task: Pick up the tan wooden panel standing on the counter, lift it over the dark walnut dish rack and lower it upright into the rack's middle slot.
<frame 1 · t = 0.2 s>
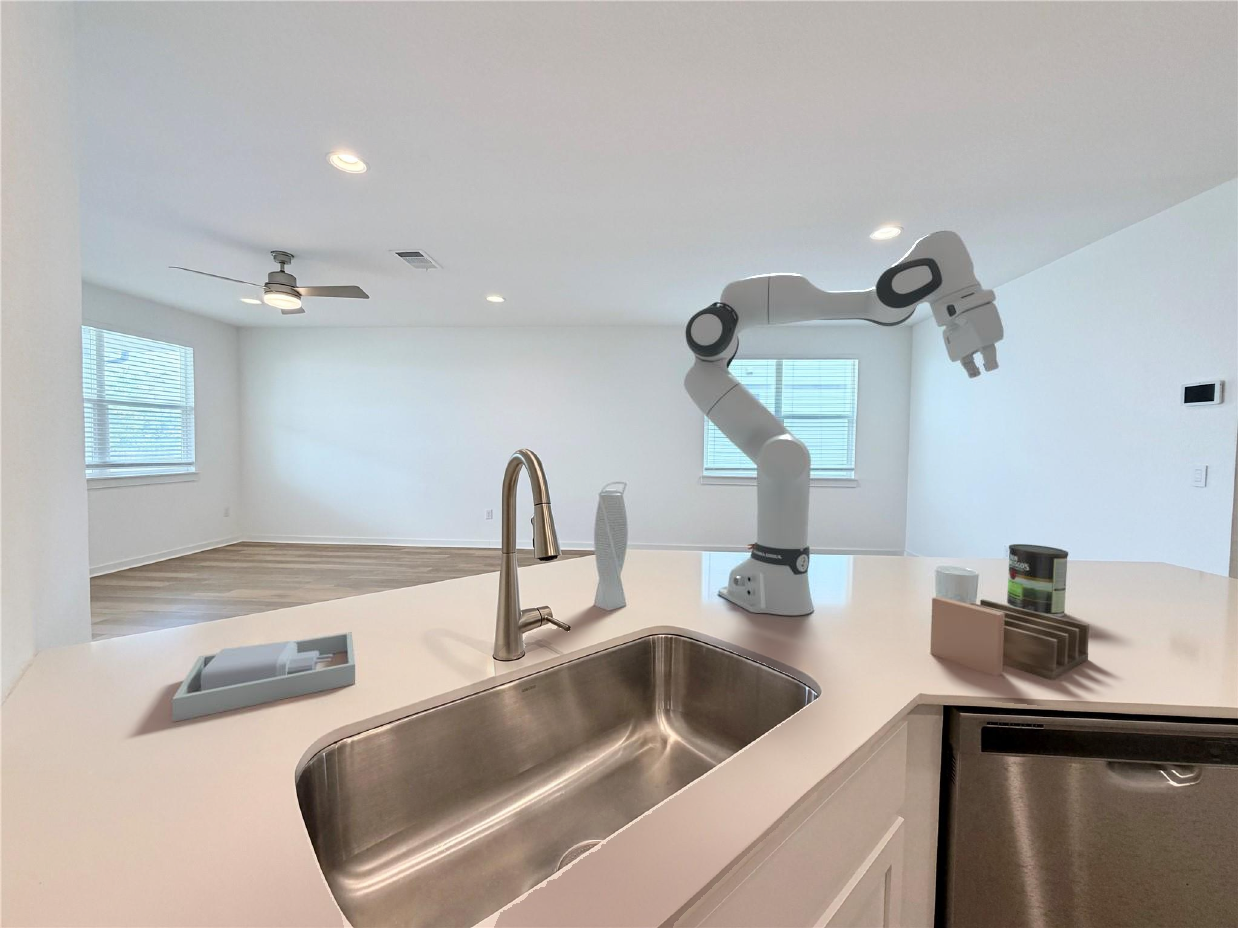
hand: (983, 373, 97), 52 cm above the worktop, tool tilted 20°, fingers open, 8 cm apart
dish rack: (1012, 651, 88), on the worktop
white cup: (954, 616, 107), on the worktop
skyscraper: (610, 606, 111), on the worktop
charger: (275, 682, 74), resting in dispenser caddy
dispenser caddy: (276, 679, 74), on the worktop
coffee can: (1035, 610, 111), on the worktop
tan wooden panel: (964, 663, 83), on the worktop
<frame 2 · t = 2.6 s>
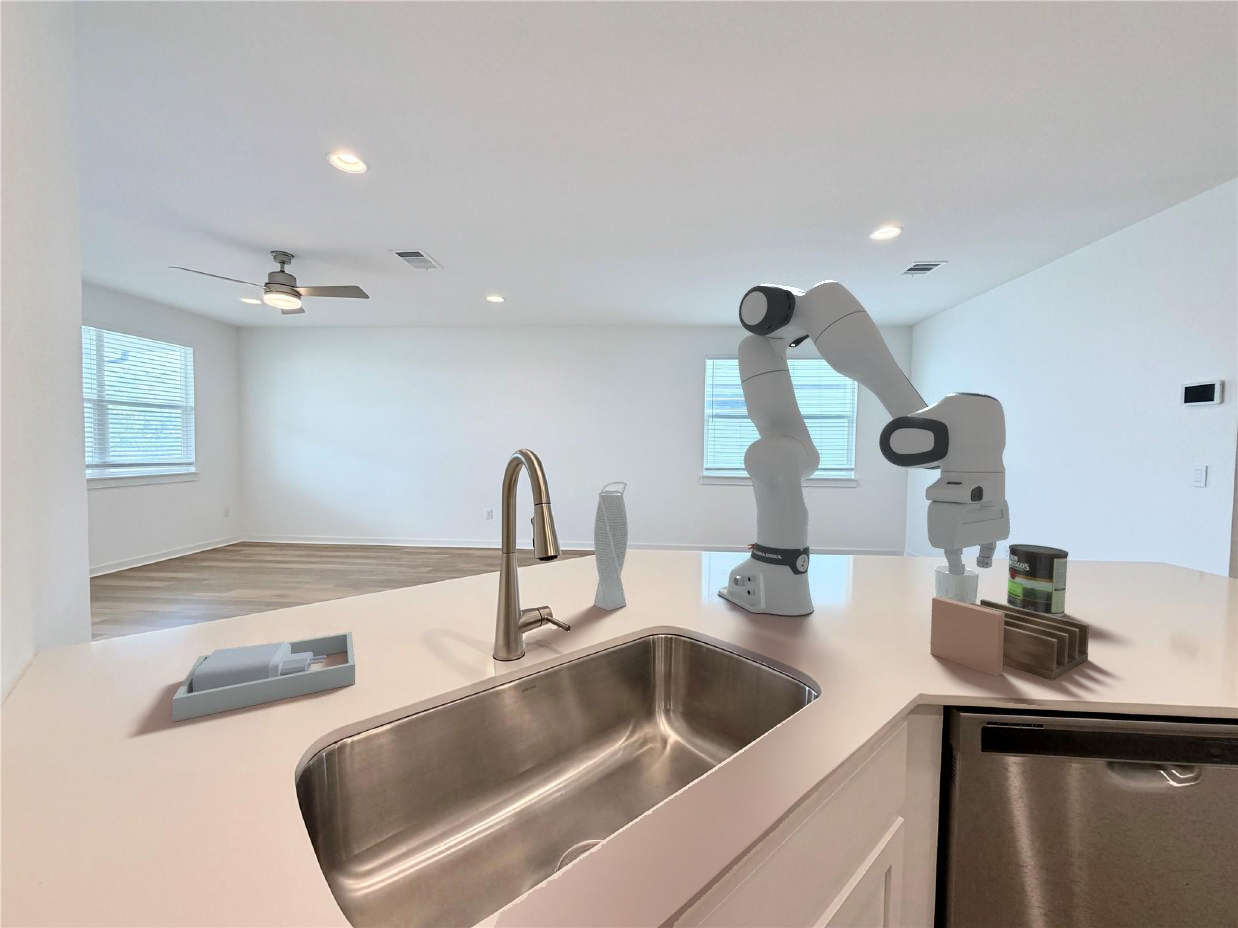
hand: (970, 570, 82), 16 cm above the worktop, tool pointing down, fingers open, 8 cm apart
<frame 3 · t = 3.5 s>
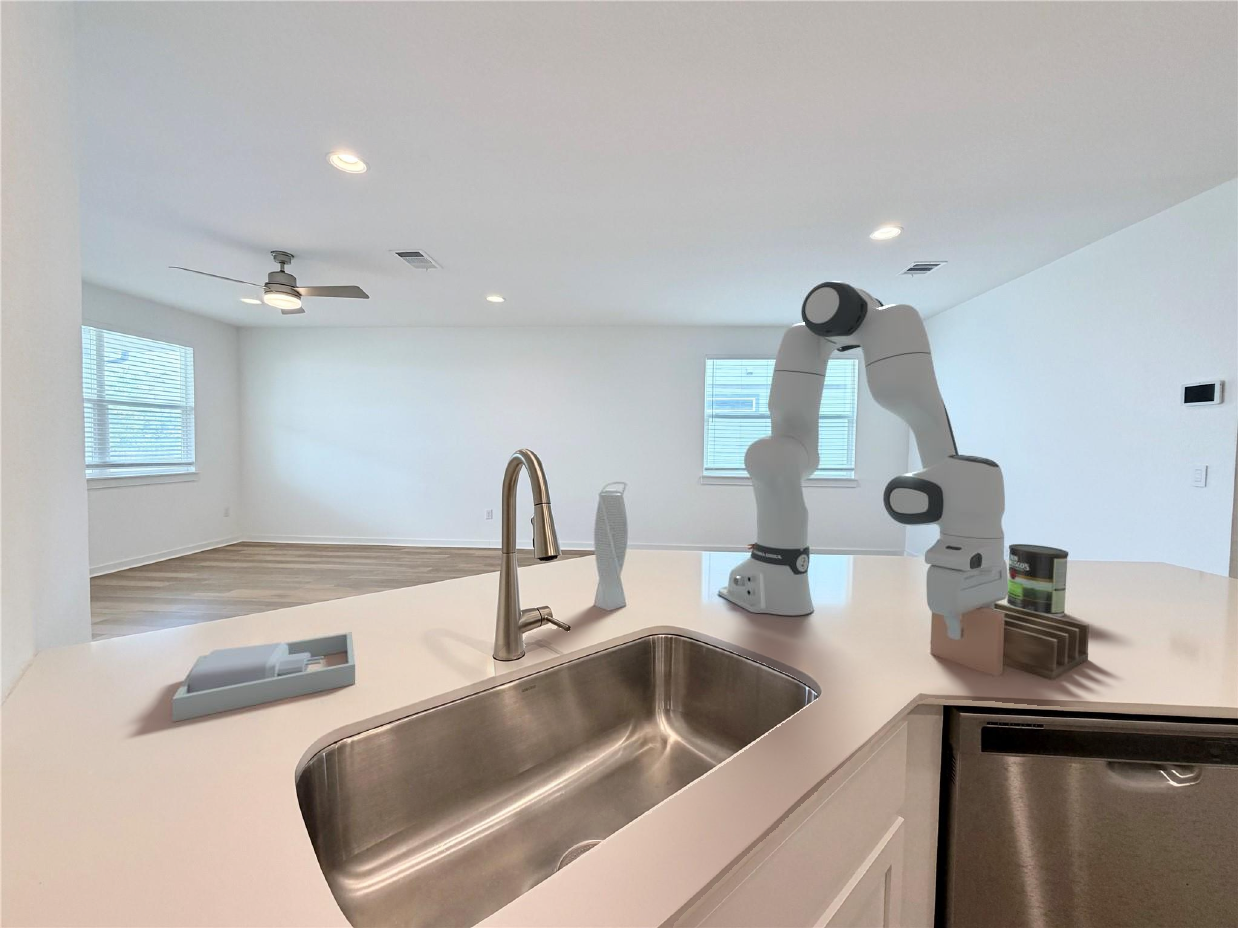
hand: (969, 632, 82), 5 cm above the worktop, tool pointing down, fingers open, 8 cm apart
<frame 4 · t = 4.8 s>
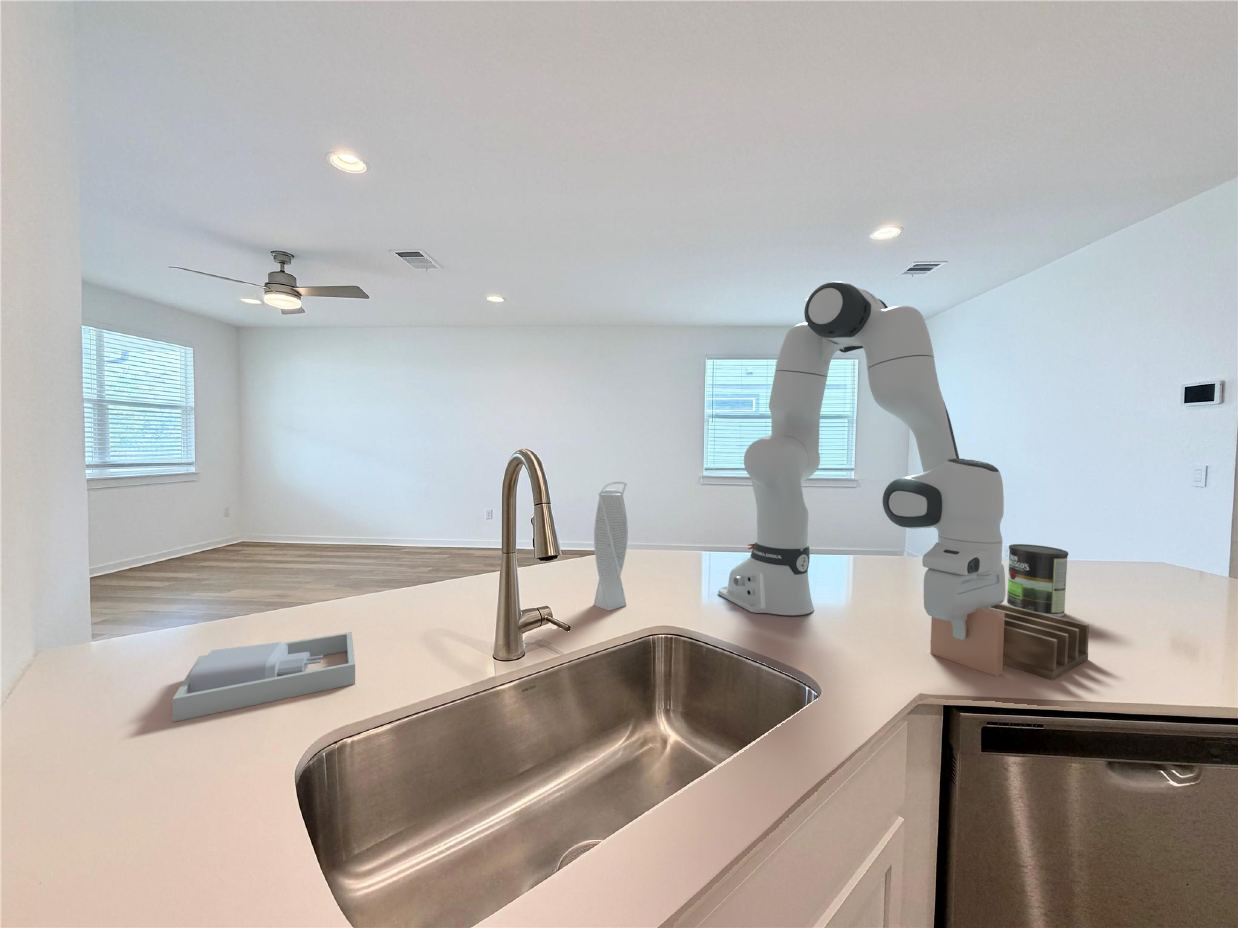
hand: (965, 636, 83), 5 cm above the worktop, tool pointing down, fingers closed on tan wooden panel, 2 cm apart
tan wooden panel: (964, 662, 83), on the worktop, touching gripper
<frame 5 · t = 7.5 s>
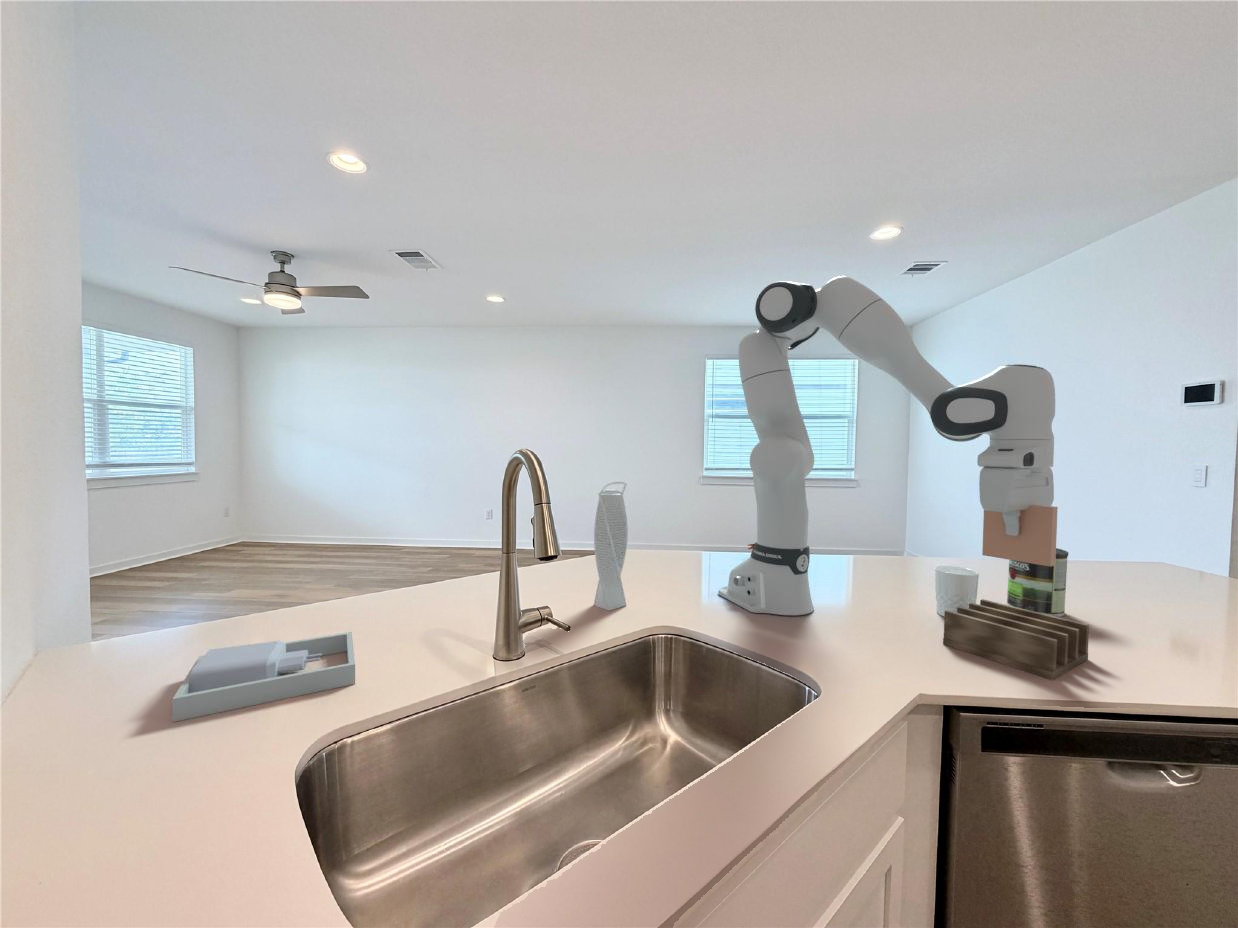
hand: (1017, 534, 87), 21 cm above the worktop, tool pointing down, fingers closed on tan wooden panel
tan wooden panel: (1017, 559, 87), point 17 cm above the worktop, touching gripper
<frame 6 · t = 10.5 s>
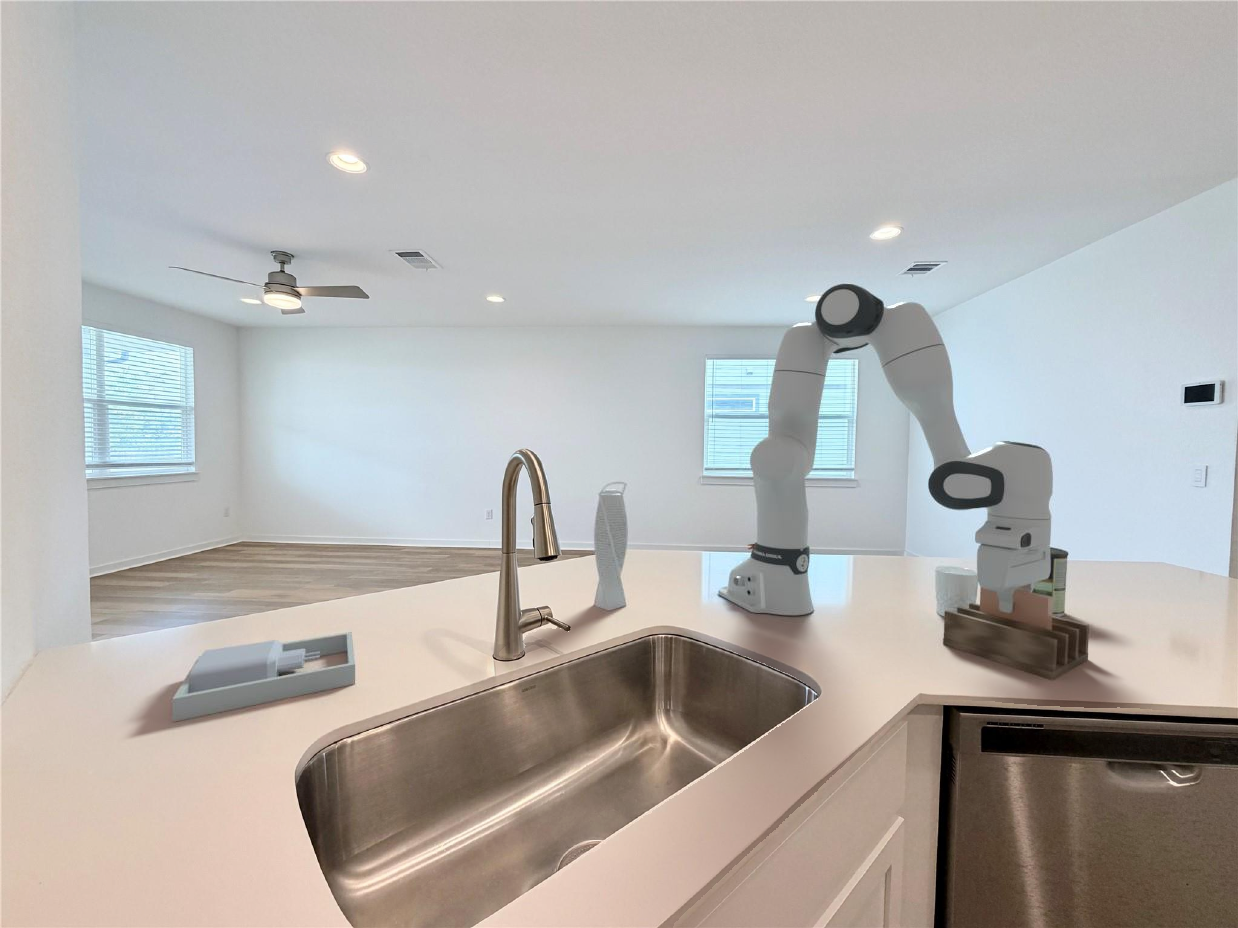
hand: (1014, 608, 87), 8 cm above the worktop, tool pointing down, fingers open, 5 cm apart
tan wooden panel: (1013, 644, 88), point 1 cm above the worktop, touching dish rack
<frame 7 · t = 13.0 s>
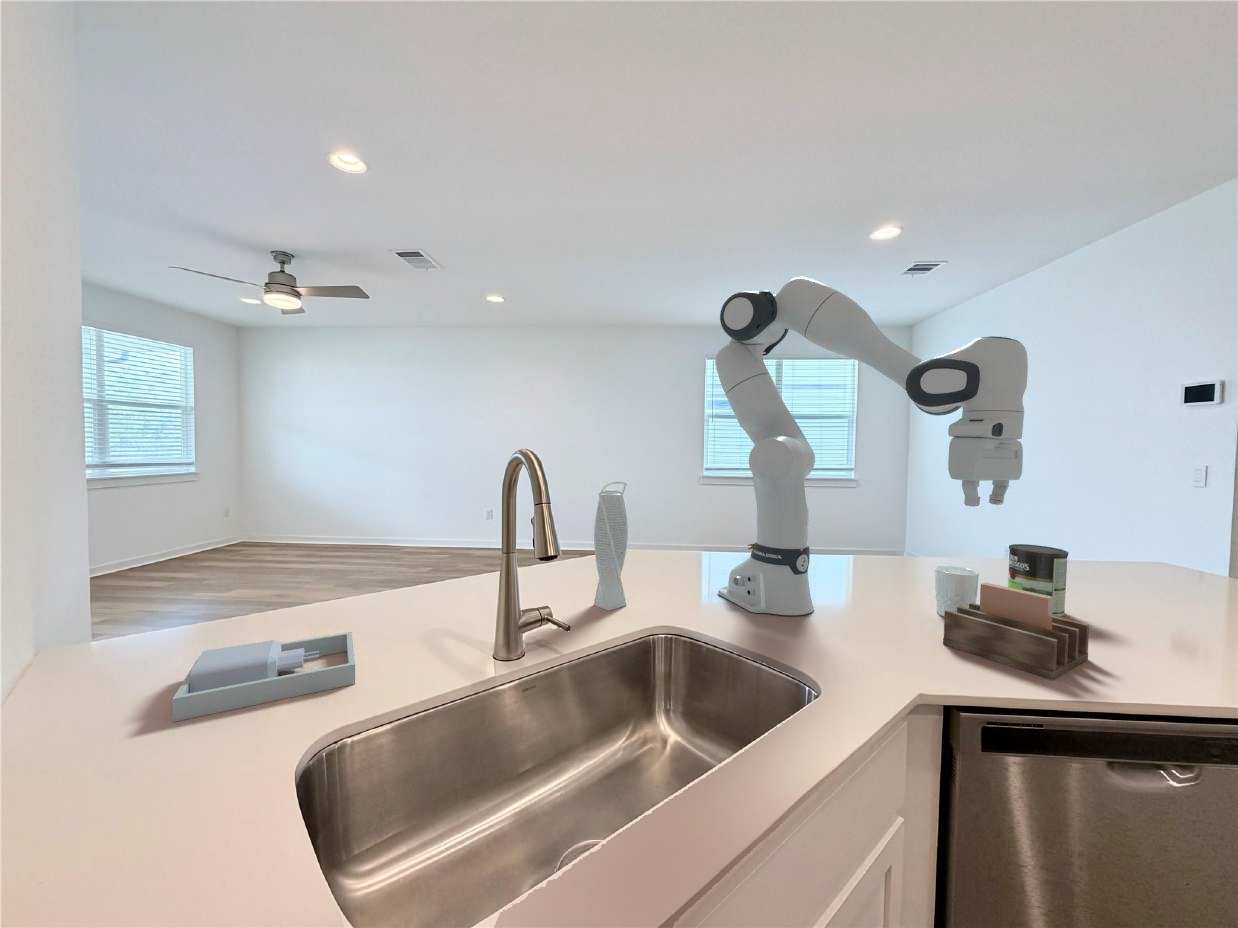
hand: (984, 505, 88), 26 cm above the worktop, tool pointing down, fingers open, 8 cm apart
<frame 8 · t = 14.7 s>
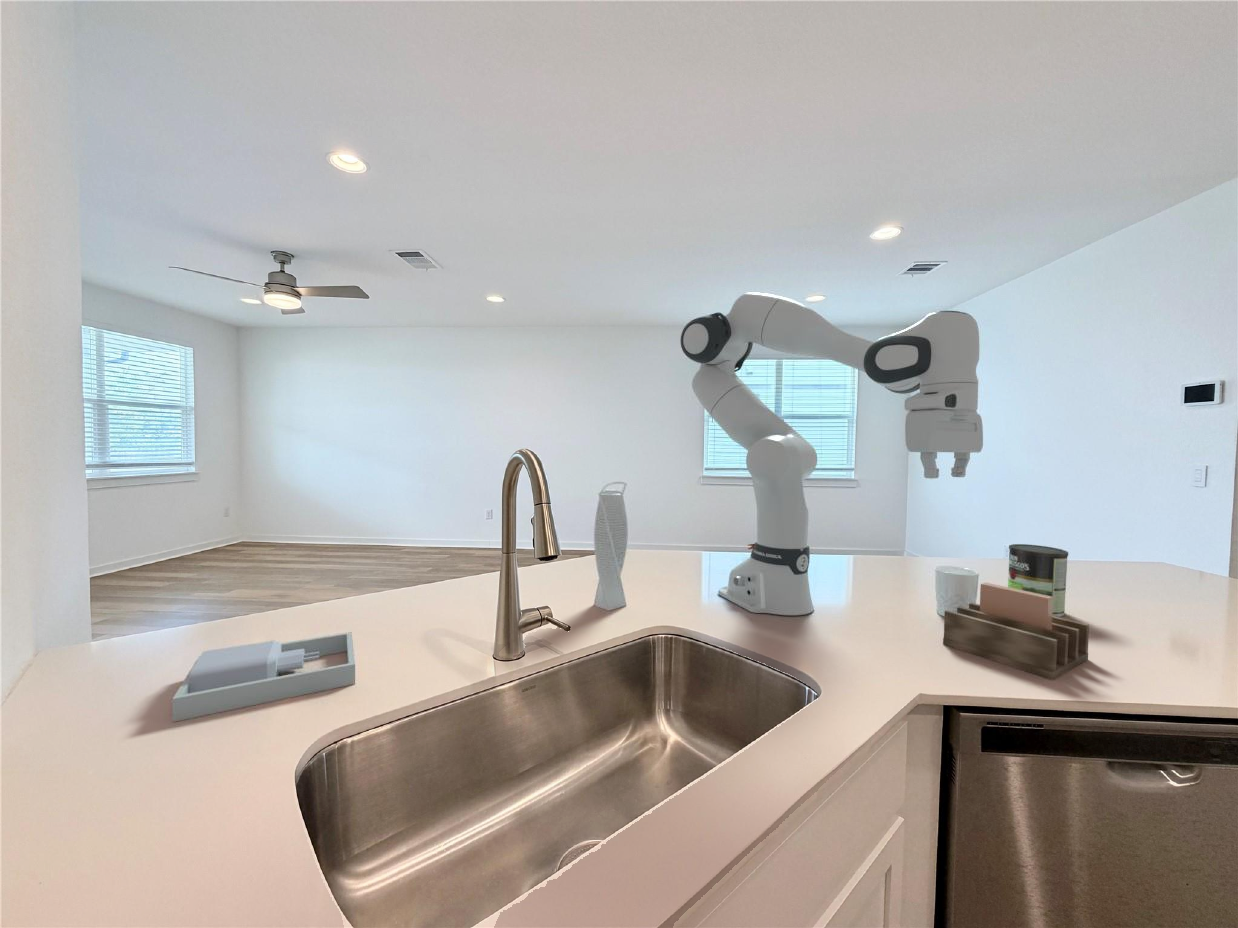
hand: (945, 477, 89), 31 cm above the worktop, tool pointing down, fingers open, 8 cm apart
at the end: tan wooden panel 0.0 cm off-centre on the dish rack, point 1.2 cm above the dish rack's base; tan wooden panel tilted 0°; the gripper is holding nothing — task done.
